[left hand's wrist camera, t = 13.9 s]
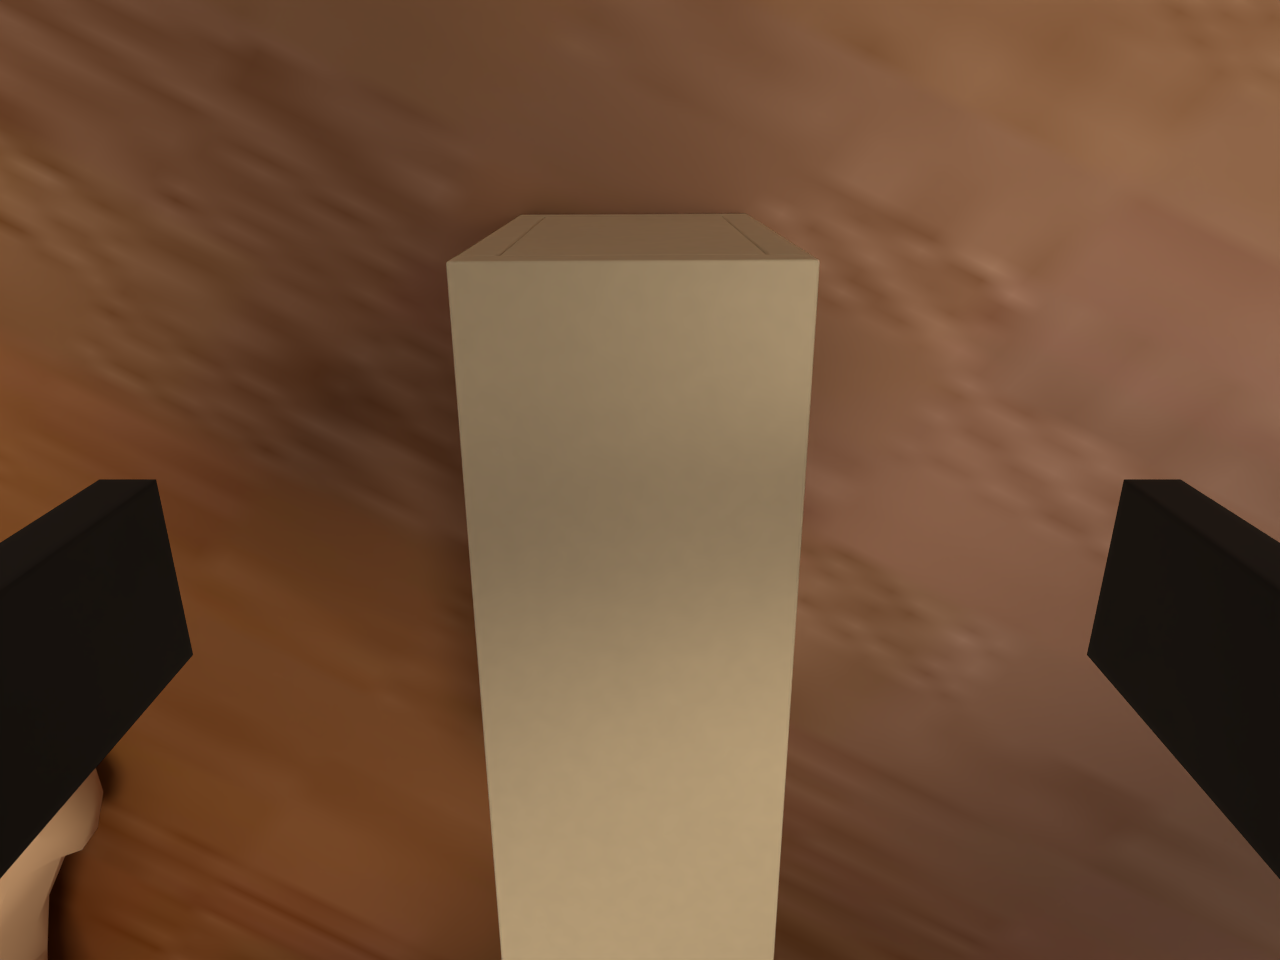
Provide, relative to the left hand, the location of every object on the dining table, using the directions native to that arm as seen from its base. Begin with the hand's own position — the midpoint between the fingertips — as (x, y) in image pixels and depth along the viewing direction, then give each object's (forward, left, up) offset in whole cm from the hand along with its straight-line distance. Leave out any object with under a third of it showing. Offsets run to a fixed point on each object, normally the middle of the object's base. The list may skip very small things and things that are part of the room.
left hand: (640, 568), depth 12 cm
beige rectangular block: (+3, -4, -16) cm, 16 cm away
